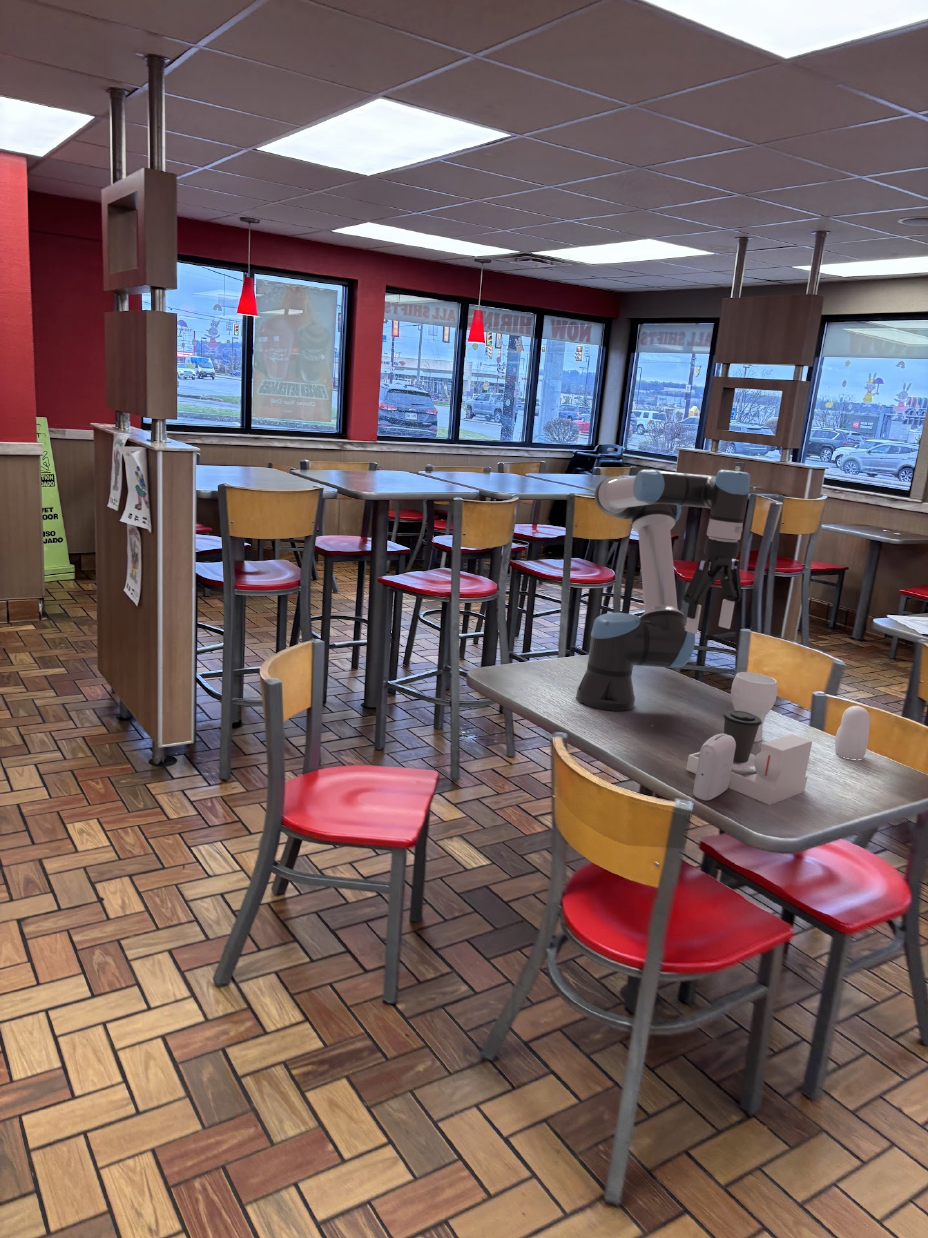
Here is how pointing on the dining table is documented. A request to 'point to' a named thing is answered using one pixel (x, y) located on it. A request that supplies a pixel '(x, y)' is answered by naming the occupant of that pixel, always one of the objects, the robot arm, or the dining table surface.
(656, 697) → the dining table surface
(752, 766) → the pan
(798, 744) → the base
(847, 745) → the figurine
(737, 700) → the cup
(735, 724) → the coffee cup
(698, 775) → the photo printer
